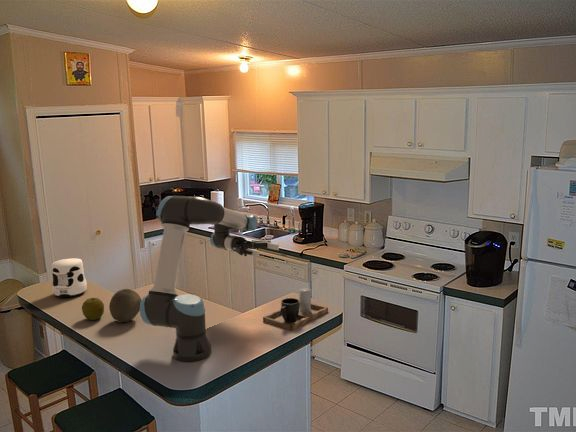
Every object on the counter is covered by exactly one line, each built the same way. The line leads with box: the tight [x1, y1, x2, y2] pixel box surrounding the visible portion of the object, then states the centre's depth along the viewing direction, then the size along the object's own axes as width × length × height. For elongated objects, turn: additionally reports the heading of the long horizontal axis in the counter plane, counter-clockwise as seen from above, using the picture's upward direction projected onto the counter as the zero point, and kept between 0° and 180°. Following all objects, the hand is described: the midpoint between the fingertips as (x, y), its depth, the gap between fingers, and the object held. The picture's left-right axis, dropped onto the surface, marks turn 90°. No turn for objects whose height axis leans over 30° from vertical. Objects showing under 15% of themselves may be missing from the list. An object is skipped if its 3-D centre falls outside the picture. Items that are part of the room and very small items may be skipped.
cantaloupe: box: [108, 288, 142, 323], centre depth 245 cm, size 14×14×15 cm
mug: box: [279, 297, 300, 324], centre depth 239 cm, size 8×12×10 cm
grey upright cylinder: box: [298, 287, 312, 314], centre depth 250 cm, size 6×6×11 cm
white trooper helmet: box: [51, 257, 88, 298], centre depth 284 cm, size 17×17×18 cm
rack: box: [262, 302, 329, 331], centre depth 246 cm, size 27×17×2 cm, turn 140°
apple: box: [81, 297, 105, 321], centre depth 249 cm, size 10×10×11 cm
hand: (268, 250), depth 241 cm, fingers open, 13 cm apart
